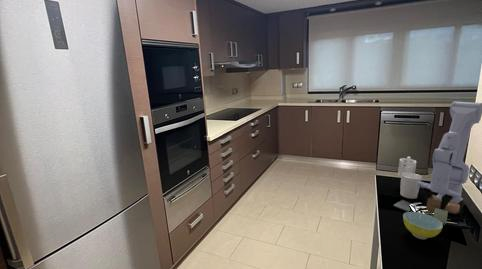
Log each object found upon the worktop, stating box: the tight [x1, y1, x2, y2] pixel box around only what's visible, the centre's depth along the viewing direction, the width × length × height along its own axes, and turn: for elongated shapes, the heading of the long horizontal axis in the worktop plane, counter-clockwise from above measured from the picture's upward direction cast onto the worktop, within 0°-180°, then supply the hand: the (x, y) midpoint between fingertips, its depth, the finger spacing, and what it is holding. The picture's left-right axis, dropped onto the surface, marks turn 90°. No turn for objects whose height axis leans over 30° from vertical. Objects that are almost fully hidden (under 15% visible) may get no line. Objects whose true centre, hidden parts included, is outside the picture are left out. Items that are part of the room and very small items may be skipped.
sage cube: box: [432, 208, 449, 225], centre depth 101 cm, size 4×4×4 cm
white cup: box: [399, 173, 423, 200], centre depth 121 cm, size 8×8×10 cm
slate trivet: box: [393, 199, 413, 212], centre depth 111 cm, size 8×8×1 cm
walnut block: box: [425, 194, 442, 214], centre depth 107 cm, size 4×4×6 cm
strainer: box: [397, 156, 417, 178], centre depth 130 cm, size 7×7×15 cm
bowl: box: [402, 211, 444, 240], centre depth 91 cm, size 11×12×6 cm
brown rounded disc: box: [445, 201, 461, 215], centre depth 109 cm, size 6×6×3 cm
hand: (434, 208), depth 107 cm, fingers closed on walnut block, 4 cm apart
